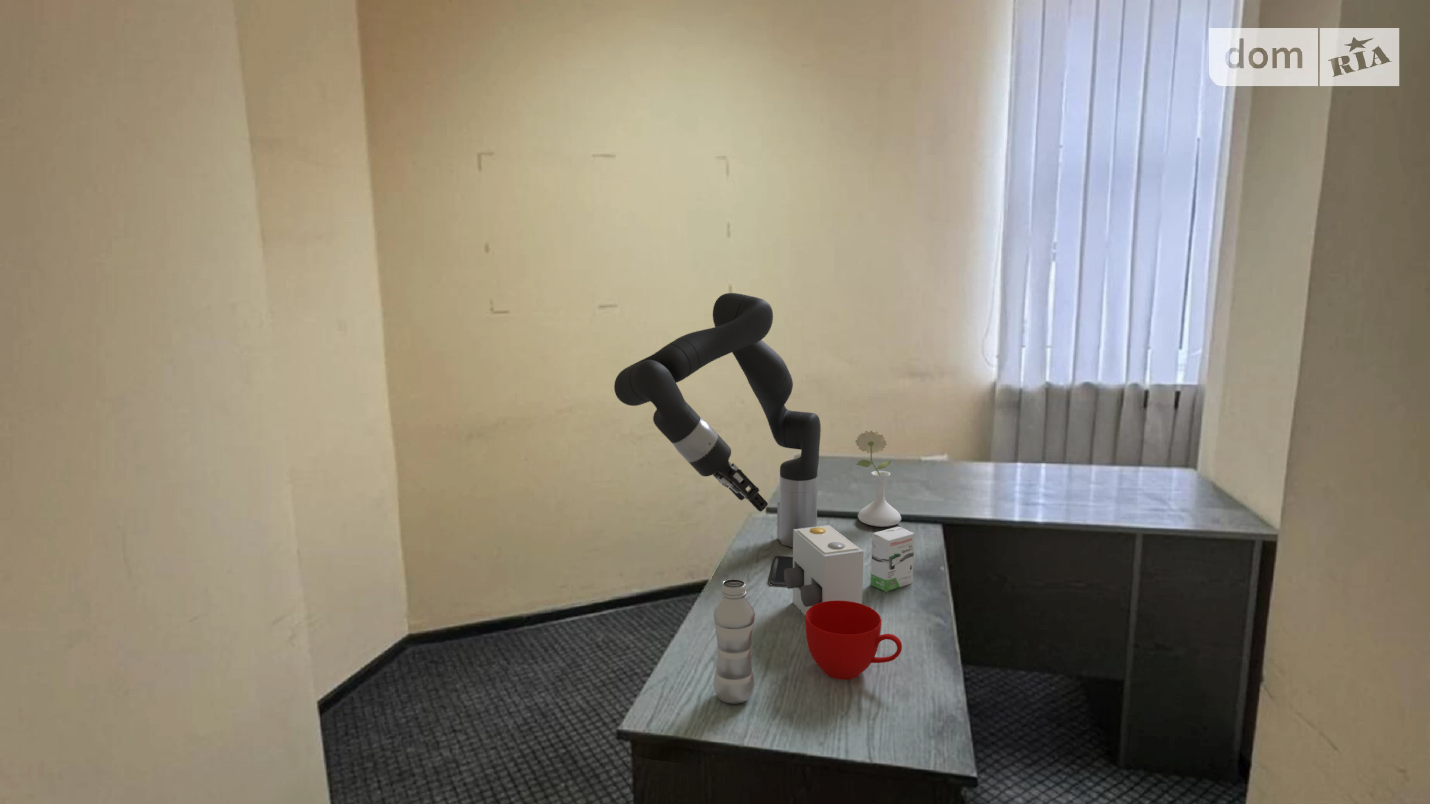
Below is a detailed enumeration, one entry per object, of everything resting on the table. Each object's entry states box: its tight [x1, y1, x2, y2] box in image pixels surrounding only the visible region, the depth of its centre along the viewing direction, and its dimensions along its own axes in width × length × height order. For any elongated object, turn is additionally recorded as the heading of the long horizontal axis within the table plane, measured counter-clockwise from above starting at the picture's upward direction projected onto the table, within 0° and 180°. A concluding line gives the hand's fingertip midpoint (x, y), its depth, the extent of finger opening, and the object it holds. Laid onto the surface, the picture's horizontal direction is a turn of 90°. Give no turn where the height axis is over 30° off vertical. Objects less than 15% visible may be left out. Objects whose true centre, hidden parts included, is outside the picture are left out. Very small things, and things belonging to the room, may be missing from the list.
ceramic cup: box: [804, 600, 903, 681], centre depth 133 cm, size 13×17×10 cm
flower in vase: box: [855, 430, 902, 528], centre depth 205 cm, size 13×11×25 cm
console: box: [792, 524, 864, 616], centre depth 153 cm, size 8×15×16 cm, turn 17°
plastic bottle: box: [713, 578, 756, 705], centre depth 125 cm, size 6×7×20 cm
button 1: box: [784, 567, 804, 589], centre depth 156 cm, size 4×4×4 cm
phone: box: [768, 555, 793, 587], centre depth 176 cm, size 8×1×15 cm
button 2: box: [801, 583, 822, 607], centre depth 148 cm, size 4×4×4 cm
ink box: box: [870, 526, 916, 593], centre depth 168 cm, size 9×5×12 cm, turn 123°
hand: (753, 502), depth 148 cm, fingers open, 8 cm apart
